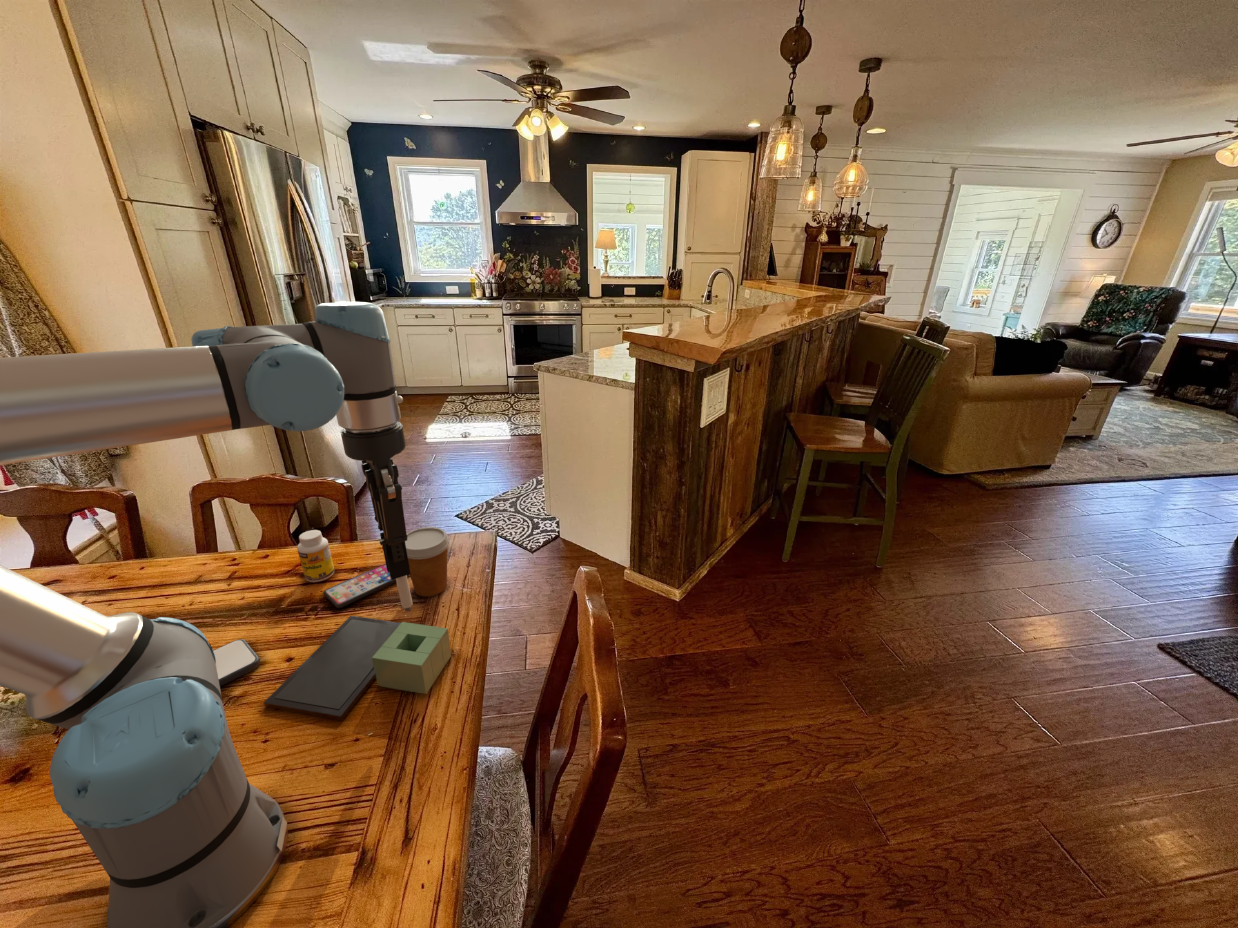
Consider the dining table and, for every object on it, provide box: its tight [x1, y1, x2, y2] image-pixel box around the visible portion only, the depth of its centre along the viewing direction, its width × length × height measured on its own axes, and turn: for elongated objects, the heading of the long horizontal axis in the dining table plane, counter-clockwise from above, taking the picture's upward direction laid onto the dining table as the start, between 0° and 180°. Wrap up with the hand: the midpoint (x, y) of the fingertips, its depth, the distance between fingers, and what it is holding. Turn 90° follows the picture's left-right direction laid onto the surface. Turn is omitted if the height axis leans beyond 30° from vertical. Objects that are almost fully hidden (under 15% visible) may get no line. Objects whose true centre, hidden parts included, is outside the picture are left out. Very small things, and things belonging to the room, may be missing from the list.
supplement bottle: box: [296, 529, 335, 583], centre depth 103 cm, size 6×6×10 cm
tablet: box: [263, 615, 402, 722], centre depth 83 cm, size 20×13×1 cm, turn 170°
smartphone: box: [323, 563, 410, 609], centre depth 102 cm, size 8×1×15 cm
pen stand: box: [372, 621, 452, 695], centre depth 81 cm, size 8×8×6 cm
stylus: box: [395, 575, 414, 613], centre depth 75 cm, size 2×2×15 cm
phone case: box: [213, 638, 261, 688], centre depth 79 cm, size 9×2×16 cm
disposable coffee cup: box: [405, 526, 450, 597], centre depth 100 cm, size 10×10×12 cm
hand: (398, 571), depth 75 cm, fingers closed on stylus, 1 cm apart
